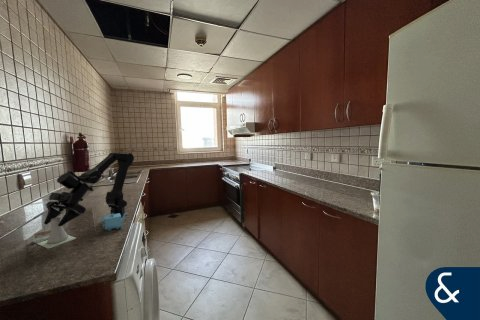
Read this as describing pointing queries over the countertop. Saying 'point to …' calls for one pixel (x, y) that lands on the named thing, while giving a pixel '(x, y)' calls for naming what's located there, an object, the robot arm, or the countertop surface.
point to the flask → (56, 232)
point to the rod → (42, 232)
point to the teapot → (113, 221)
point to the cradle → (39, 238)
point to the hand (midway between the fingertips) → (52, 225)
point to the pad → (50, 245)
